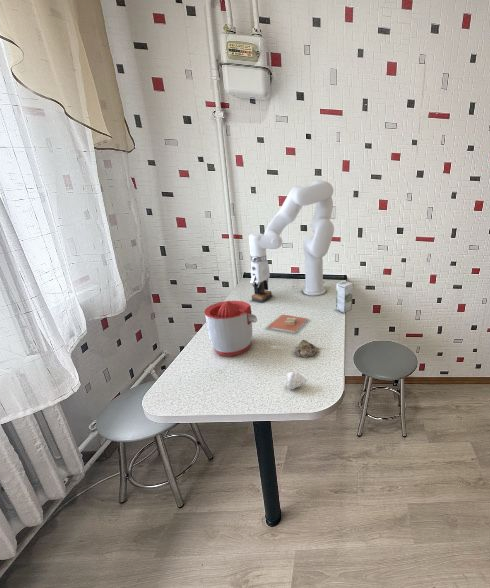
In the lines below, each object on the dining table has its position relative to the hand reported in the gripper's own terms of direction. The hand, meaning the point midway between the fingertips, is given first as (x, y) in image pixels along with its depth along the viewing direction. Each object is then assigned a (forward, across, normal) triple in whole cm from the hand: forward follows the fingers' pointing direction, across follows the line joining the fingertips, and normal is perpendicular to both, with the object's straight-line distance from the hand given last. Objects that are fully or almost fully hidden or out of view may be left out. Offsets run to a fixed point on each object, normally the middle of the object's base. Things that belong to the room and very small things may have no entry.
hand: (261, 291), depth 171 cm
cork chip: (+3, -22, -28) cm, 36 cm away
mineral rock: (+4, -40, -44) cm, 60 cm away
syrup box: (+4, +1, -45) cm, 45 cm away
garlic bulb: (+4, -61, -51) cm, 80 cm away
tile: (+4, -22, -27) cm, 35 cm away
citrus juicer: (+4, -47, -18) cm, 51 cm away
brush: (+4, 0, 0) cm, 4 cm away
